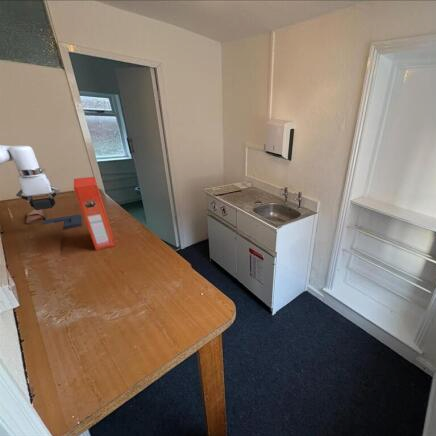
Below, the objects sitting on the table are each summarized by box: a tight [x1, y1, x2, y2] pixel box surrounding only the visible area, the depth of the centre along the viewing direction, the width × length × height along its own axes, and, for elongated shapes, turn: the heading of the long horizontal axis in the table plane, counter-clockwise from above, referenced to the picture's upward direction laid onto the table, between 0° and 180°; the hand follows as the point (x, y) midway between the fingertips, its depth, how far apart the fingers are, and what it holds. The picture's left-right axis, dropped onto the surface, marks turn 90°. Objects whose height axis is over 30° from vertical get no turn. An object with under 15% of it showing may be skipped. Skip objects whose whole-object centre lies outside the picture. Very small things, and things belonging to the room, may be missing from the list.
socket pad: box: [43, 213, 83, 230], centre depth 135 cm, size 16×16×2 cm
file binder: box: [73, 176, 116, 251], centre depth 114 cm, size 8×17×32 cm, turn 40°
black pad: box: [33, 197, 54, 210], centre depth 119 cm, size 6×6×4 cm
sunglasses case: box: [25, 209, 47, 225], centre depth 141 cm, size 18×7×7 cm, turn 47°
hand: (44, 206), depth 120 cm, fingers closed on black pad, 6 cm apart
